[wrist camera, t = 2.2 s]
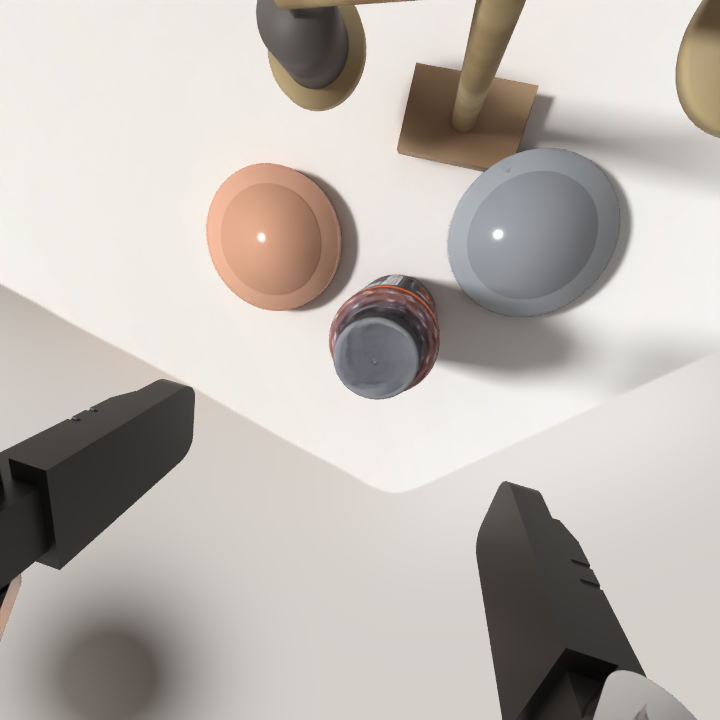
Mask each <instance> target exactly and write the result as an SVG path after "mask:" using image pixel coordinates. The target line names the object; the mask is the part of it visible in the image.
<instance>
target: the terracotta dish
mask: <svg viewBox="0 0 720 720" xmlns="http://www.w3.org/2000/svg"><path fill="white" fill-rule="evenodd" d="M206 236H207V244H208V249H209V253H210V256H211V259H212V262H213V264H214V266H215V269H216V271H217V272H218V274H219V276H220V277H221V279H222V280H223V281H224V283H225V284H226V285H227V286H228V288H229V289H230V290H231V291H232V292H233V293H235V294H236V295H237V296H238V297H239V298H241V299H242V300H244V301H246V302H247V303H249V304H251V305H253V306H256V307H259V308H262V309H266V310H273V311H283V310H290V309H294V308H297V307H300V306H302V305H304V304H306V303H308V302H309V301H311V300H313V299H315V298H316V297H317V296H319V295H320V294H321V293H322V292H323V291H324V290H325V289H326V288H327V286H328V285H329V284H330V282H331V281H332V279H333V277H334V275H335V273H336V271H337V268H338V265H339V261H340V257H341V249H342V237H341V229H340V225H339V221H338V218H337V215H336V212H335V210H334V208H333V206H332V204H331V202H330V200H329V199H328V197H327V196H326V195H325V193H324V192H323V191H322V190H321V189H320V188H319V186H318V185H316V184H315V183H314V182H313V181H312V180H310V179H309V178H307V177H306V176H304V175H303V174H301V173H299V172H297V171H295V170H293V169H291V168H289V167H285V166H282V165H278V164H271V163H260V164H255V165H250V166H248V167H245V168H242V169H240V170H239V171H237V172H235V173H234V174H232V175H231V176H230V177H229V178H228V179H227V180H226V181H225V182H224V183H223V184H222V185H221V186H220V188H219V189H218V191H217V192H216V194H215V196H214V198H213V200H212V203H211V205H210V208H209V212H208V217H207V225H206Z"/></svg>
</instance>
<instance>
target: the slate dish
mask: <svg viewBox="0 0 720 720" xmlns="http://www.w3.org/2000/svg"><path fill="white" fill-rule="evenodd" d="M513 160H514V161H513ZM504 161H505V162H504ZM500 162H501V163H500ZM504 166H505V167H504ZM510 167H511V169H510ZM492 168H493V169H492ZM503 168H504V169H503ZM506 169H507V170H506ZM504 171H505V172H504ZM619 227H620V211H619V205H618V200H617V197H616V194H615V191H614V189H613V187H612V185H611V183H610V181H609V179H608V178H607V177H606V175H605V174H604V173H603V171H602V170H600V169H599V168H598V167H597V166H596V165H595V164H594V163H593V162H591V161H590V160H588V159H587V158H585V157H583V156H581V155H579V154H577V153H574V152H571V151H567V150H564V149H556V148H538V149H531V150H526V151H523V152H519V153H516V154H514V155H511V156H510V157H507V158H504V159H503V160H501V161H499V163H496V164H494V165H493V166H491V167H490V168H489V169H488V170H486V171H485V172H484V173H483V174H482V175H480V176H479V177H478V178H477V179H476V180H475V181H474V183H473V184H472V185H471V186H470V187H469V189H468V190H467V191H466V192H465V194H464V195H463V197H462V198H461V200H460V201H459V203H458V205H457V207H456V209H455V211H454V214H453V217H452V219H451V222H450V227H449V231H448V240H447V251H448V258H449V263H450V266H451V270H452V272H453V274H454V277H455V279H456V280H457V282H458V283H459V285H460V287H461V288H462V289H463V290H464V292H465V293H466V294H467V295H468V296H469V297H470V298H471V299H472V300H473V301H475V302H476V303H477V304H479V305H480V306H482V307H484V308H486V309H488V310H490V311H492V312H495V313H498V314H501V315H507V316H515V317H527V316H535V315H541V314H545V313H548V312H551V311H554V310H556V309H559V308H561V307H563V306H565V305H567V304H568V303H570V302H572V301H574V300H575V299H576V298H578V297H579V296H580V295H582V294H583V293H584V292H585V291H586V290H587V289H589V288H590V287H591V286H592V285H593V283H594V282H595V281H596V280H597V279H598V278H599V277H600V275H601V274H602V272H603V271H604V269H605V268H606V266H607V264H608V263H609V261H610V259H611V257H612V254H613V252H614V249H615V247H616V243H617V239H618V235H619Z"/></svg>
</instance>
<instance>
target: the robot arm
mask: <svg viewBox="0 0 720 720" xmlns="http://www.w3.org/2000/svg"><path fill="white" fill-rule="evenodd" d="M194 405H195V393H194V390H193V388H191V387H189V386H186V385H182V384H179V383H176V382H172V381H169V380H165V379H161V380H157V381H155V382H153V383H152V384H150V385H148V386H146V387H144V388H142V389H140V390H138V391H134V392H130V393H126V394H123V395H119V396H115V397H111V398H109V399H107V400H105V401H103V402H101V403H99V404H97V405H95V406H93V407H91V408H90V410H89V411H87V410H85V411H83V412H81V413H79V414H77V415H75V416H73V417H72V419H71V420H69V419H67V420H65V421H63V422H61V423H59V424H57V425H55V426H53V427H51V428H49V429H47V430H44V431H42V432H40V433H38V434H36V435H35V436H33V437H30V438H29V439H26V440H24V441H22V442H20V443H18V444H16V445H14V446H13V447H10V448H8V449H6V450H4V451H2V452H0V640H1V637H2V635H3V632H4V629H5V627H6V624H7V621H8V618H9V616H10V613H11V610H12V608H13V605H14V602H15V600H16V596H17V594H18V591H19V589H20V585H21V573H22V572H23V571H24V570H25V569H26V568H28V567H29V566H30V565H31V564H33V563H34V562H35V561H36V562H39V563H42V564H45V565H47V566H50V567H53V568H56V569H58V570H60V569H61V568H62V567H64V566H65V565H66V564H67V563H68V562H69V561H70V560H71V559H73V558H74V557H75V556H76V555H77V554H78V553H79V552H80V551H81V550H82V549H84V548H85V547H86V546H87V545H88V544H89V543H90V542H91V541H93V540H94V538H96V537H97V536H98V535H99V534H100V533H101V532H103V531H104V530H105V529H106V528H107V527H108V526H109V525H110V524H112V523H113V522H114V521H115V520H116V519H117V518H118V517H119V516H120V515H122V514H123V513H124V512H125V511H126V510H127V509H128V508H129V507H130V506H132V505H133V504H134V503H135V502H136V501H137V500H138V499H139V498H140V497H142V496H143V495H144V494H145V493H146V492H147V491H148V490H149V489H151V488H152V487H153V486H154V485H155V484H156V483H157V482H158V481H159V480H161V479H162V478H163V477H164V476H165V475H166V474H167V473H168V472H169V471H171V470H172V469H173V468H174V467H175V466H176V465H177V464H178V463H180V462H181V460H182V459H183V458H184V457H185V456H186V454H187V452H188V450H189V448H190V446H191V443H192V439H193V424H194ZM476 555H477V563H478V569H479V576H480V582H481V588H482V594H483V601H484V606H485V613H486V620H487V626H488V632H489V638H490V645H491V651H492V656H493V663H494V669H495V676H496V682H497V689H498V695H499V701H500V708H501V714H502V720H697V719H696V718H695V717H694V715H693V714H692V713H691V712H690V711H688V709H687V708H686V707H685V706H684V705H683V704H682V703H681V702H679V701H678V700H677V699H676V698H675V697H674V696H673V695H671V694H670V693H669V692H668V691H666V690H665V689H664V688H662V687H661V686H659V685H658V684H656V683H655V682H653V681H652V680H650V679H648V678H647V677H646V675H645V673H644V671H643V669H642V667H641V665H640V663H639V661H638V659H637V657H636V655H635V653H634V651H633V649H632V647H631V645H630V643H629V641H628V639H627V637H626V635H625V633H624V631H623V629H622V628H621V625H620V624H619V621H618V619H617V617H616V616H615V614H614V612H613V610H612V608H611V606H610V604H609V602H608V600H607V598H606V596H605V594H604V592H603V590H600V584H599V582H598V580H597V578H596V576H595V575H594V572H593V570H592V569H590V564H589V562H588V560H587V558H586V556H585V554H584V552H583V550H582V548H581V546H580V545H579V542H578V541H577V540H576V539H575V538H574V536H573V535H572V534H571V533H570V532H569V531H568V530H567V529H566V527H565V526H564V525H563V524H562V523H561V522H560V520H557V519H553V518H552V517H551V515H550V512H549V510H548V508H547V506H546V504H545V501H544V499H543V497H542V495H541V493H540V492H539V491H537V490H534V489H530V488H527V487H524V486H520V485H517V484H513V483H510V482H507V481H505V482H503V483H502V484H501V485H500V486H499V488H498V490H497V492H496V495H495V496H494V499H493V501H492V503H491V505H490V507H489V510H488V512H487V514H486V516H485V518H484V520H483V523H482V525H481V527H480V530H479V533H478V537H477V544H476Z"/></svg>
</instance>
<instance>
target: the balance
mask: <svg viewBox="0 0 720 720" xmlns="http://www.w3.org/2000/svg"><path fill="white" fill-rule="evenodd" d="M401 1H415V0H257V9H256V15H257V24H258V29H259V33H260V35H261V38H262V40H263V42H264V44H265V46H266V47H267V49H268V57H269V63H270V67H271V70H272V73H273V76H274V78H275V80H276V82H277V84H278V85H279V87H280V88H281V89H282V91H283V92H284V93H285V94H286V95H287V96H288V97H289V98H290V99H291V100H292V101H293V102H294V103H296V104H297V105H299V106H300V107H302V108H305V109H308V110H311V111H325V110H329V109H332V108H334V107H336V106H338V105H340V104H341V103H342V102H344V101H345V100H346V99H347V98H348V97H349V96H350V95H351V94H352V92H353V91H354V90H355V88H356V86H357V85H358V83H359V81H360V78H361V76H362V73H363V70H364V66H365V60H366V38H365V33H364V29H363V26H362V22H361V19H360V16H359V14H358V11H357V9H356V7H355V6H354V5H359V4H373V3H387V2H401ZM525 2H526V0H476V4H475V9H474V14H473V19H472V23H471V28H470V33H469V38H468V43H467V48H466V53H465V57H464V62H463V67H462V71H457V70H452V69H447V68H441V67H436V66H431V65H425V64H420V63H416V66H415V71H414V75H413V80H412V84H411V88H410V93H409V97H408V102H407V106H406V111H405V115H404V120H403V124H402V129H401V133H400V138H399V142H398V147H397V150H398V153H399V154H404V155H409V156H413V157H418V158H423V159H428V160H432V161H437V162H442V163H446V164H451V165H456V166H460V167H465V168H470V169H475V170H479V171H484V172H485V171H486V170H488V169H489V168H490V167H491V166H493V165H494V164H496V163H499V161H501V160H503V159H504V158H507V157H510V156H511V155H514V154H516V152H517V149H518V146H519V143H520V140H521V137H522V134H523V131H524V128H525V125H526V122H527V119H528V116H529V113H530V110H531V107H532V104H533V101H534V98H535V95H536V92H537V89H538V85H532V84H527V83H522V82H516V81H511V80H506V79H500V78H495V77H494V76H495V74H496V72H497V69H498V67H499V64H500V62H501V59H502V57H503V55H504V52H505V50H506V47H507V45H508V43H509V40H510V38H511V35H512V33H513V31H514V28H515V26H516V23H517V21H518V19H519V16H520V14H521V11H522V9H523V6H524V4H525ZM676 88H677V94H678V97H679V101H680V103H681V106H682V108H683V110H684V112H685V113H686V115H687V116H688V118H689V119H690V120H691V121H692V122H693V123H694V124H695V125H696V126H697V127H698V128H700V129H701V130H703V131H704V132H706V133H708V134H710V135H713V136H715V137H719V138H720V0H703V1H702V2H701V4H700V5H699V7H698V8H697V10H696V12H695V13H694V15H693V17H692V19H691V21H690V23H689V25H688V27H687V29H686V31H685V34H684V36H683V39H682V42H681V45H680V49H679V53H678V57H677V64H676ZM513 161H514V160H513ZM504 162H505V161H504ZM500 163H501V162H500ZM504 167H505V166H504ZM492 169H493V168H492ZM503 169H504V168H503ZM510 169H511V167H510ZM506 170H507V169H506ZM504 172H505V171H504Z"/></svg>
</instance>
